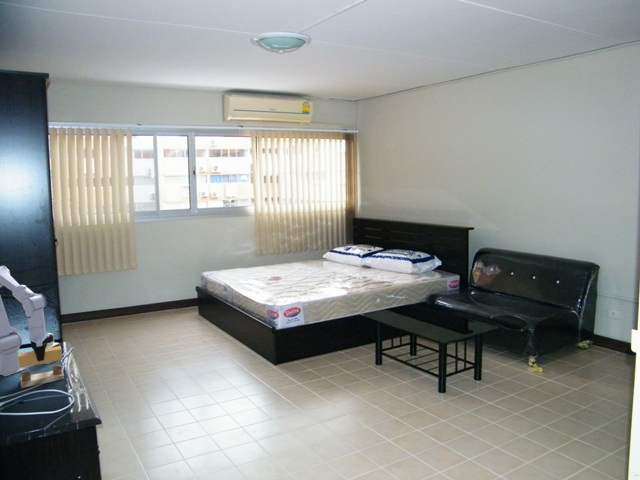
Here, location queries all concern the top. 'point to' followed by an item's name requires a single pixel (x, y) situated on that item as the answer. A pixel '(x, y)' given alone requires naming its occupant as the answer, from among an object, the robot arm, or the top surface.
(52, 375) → the display stand
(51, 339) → the medicine bottle
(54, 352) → the amber bar
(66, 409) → the top surface
